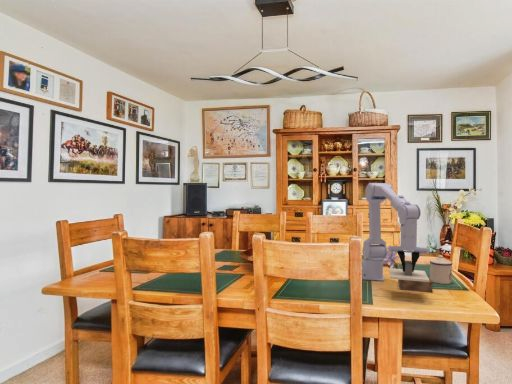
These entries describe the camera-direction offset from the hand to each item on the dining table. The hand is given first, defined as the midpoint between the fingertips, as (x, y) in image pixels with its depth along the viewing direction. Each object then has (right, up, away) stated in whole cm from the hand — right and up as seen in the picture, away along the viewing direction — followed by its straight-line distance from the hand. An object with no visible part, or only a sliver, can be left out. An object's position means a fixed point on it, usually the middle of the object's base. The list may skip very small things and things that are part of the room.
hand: (408, 271), depth 138 cm
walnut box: (+8, -10, +13) cm, 18 cm away
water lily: (+12, -9, +54) cm, 56 cm away
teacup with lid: (+24, -10, +24) cm, 35 cm away
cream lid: (0, -2, 0) cm, 2 cm away
